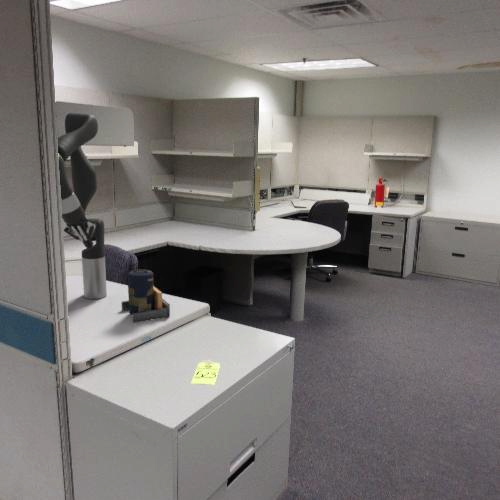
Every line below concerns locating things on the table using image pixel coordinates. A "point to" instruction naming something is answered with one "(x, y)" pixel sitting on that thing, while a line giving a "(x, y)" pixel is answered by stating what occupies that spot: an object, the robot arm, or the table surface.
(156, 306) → the plate
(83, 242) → the robot arm
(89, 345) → the table surface
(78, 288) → the table surface
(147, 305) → the canister
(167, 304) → the tray
